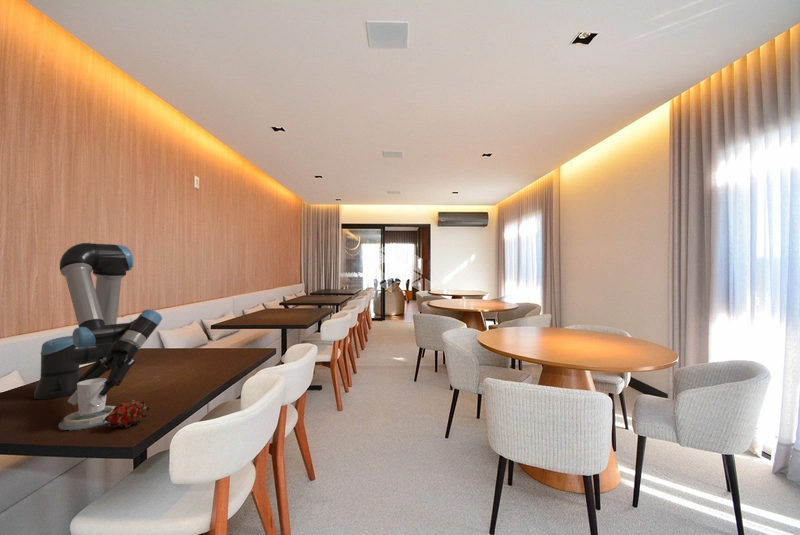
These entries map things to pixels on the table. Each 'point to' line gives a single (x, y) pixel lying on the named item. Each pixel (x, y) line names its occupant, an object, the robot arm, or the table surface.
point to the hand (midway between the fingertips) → (81, 403)
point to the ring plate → (85, 420)
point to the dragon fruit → (127, 414)
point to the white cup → (90, 395)
